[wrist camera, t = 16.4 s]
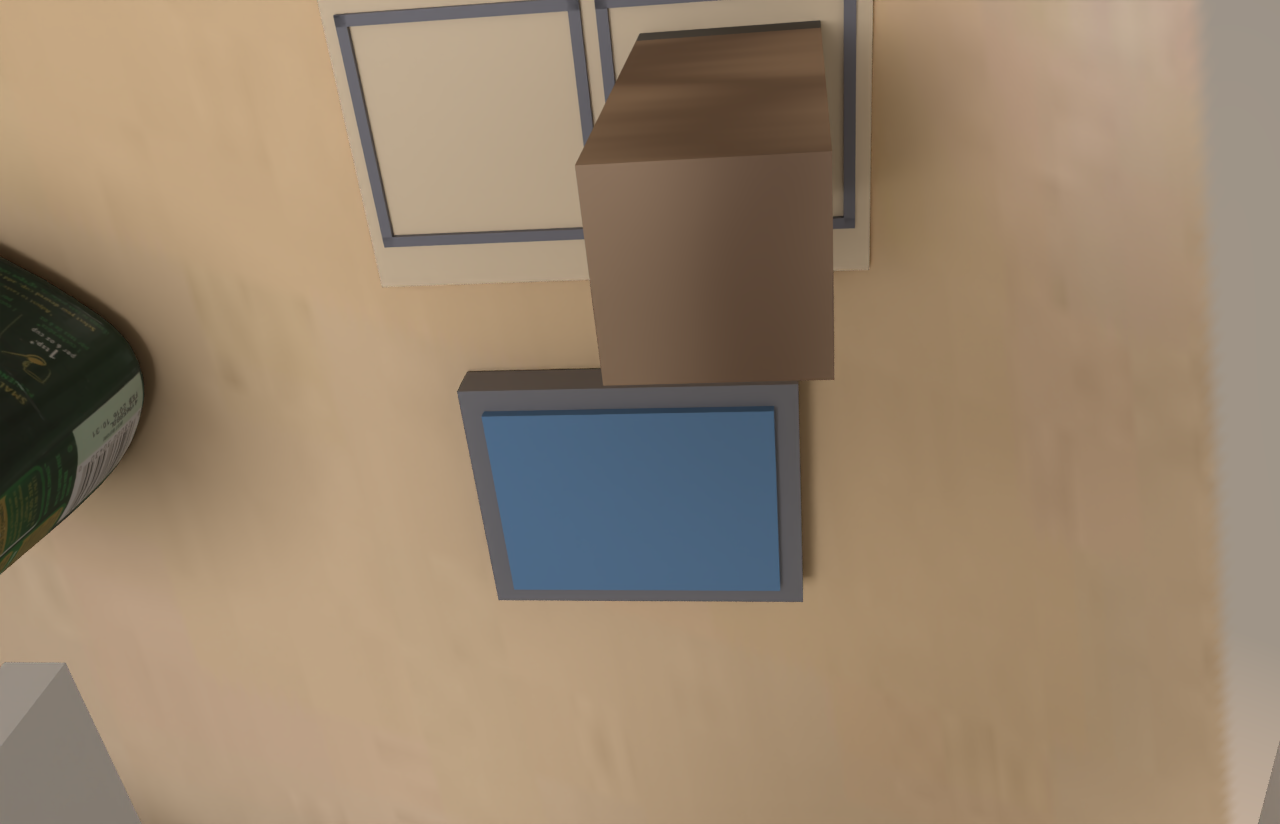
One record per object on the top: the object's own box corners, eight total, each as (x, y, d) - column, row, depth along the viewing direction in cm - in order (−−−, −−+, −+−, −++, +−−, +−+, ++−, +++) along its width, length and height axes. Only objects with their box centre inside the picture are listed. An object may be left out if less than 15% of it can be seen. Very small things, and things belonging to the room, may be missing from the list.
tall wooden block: (655, 202, 31) (603, 385, 22) (639, 33, 29) (574, 165, 20) (822, 194, 30) (834, 379, 22) (820, 20, 28) (832, 151, 19)
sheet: (383, 284, 33) (380, 289, 33) (310, -40, 29) (306, -38, 28) (868, 266, 31) (869, 272, 31) (873, -85, 27) (874, -83, 26)
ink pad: (506, 576, 39) (496, 605, 37) (467, 371, 35) (454, 396, 33) (802, 577, 37) (803, 607, 36) (798, 363, 33) (797, 389, 32)
